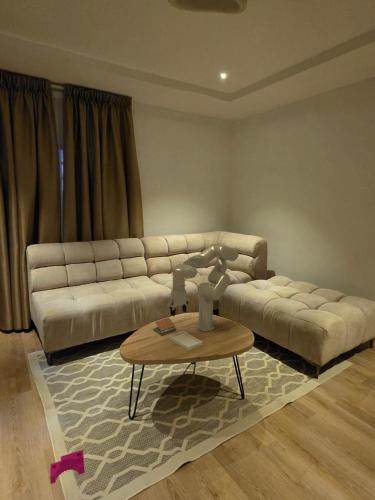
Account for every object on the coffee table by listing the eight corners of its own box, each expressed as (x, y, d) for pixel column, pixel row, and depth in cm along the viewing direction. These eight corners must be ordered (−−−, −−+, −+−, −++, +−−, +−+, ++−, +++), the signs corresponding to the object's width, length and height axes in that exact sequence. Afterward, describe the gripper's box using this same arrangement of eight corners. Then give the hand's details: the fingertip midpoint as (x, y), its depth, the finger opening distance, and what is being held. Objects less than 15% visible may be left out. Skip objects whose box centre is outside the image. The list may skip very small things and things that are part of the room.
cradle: (182, 334, 195) (182, 330, 195) (202, 345, 181) (202, 341, 180) (168, 338, 188) (168, 335, 188) (188, 350, 174) (188, 347, 173)
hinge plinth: (168, 326, 207) (168, 322, 206) (176, 331, 199) (176, 326, 199) (153, 331, 199) (153, 326, 199) (161, 336, 192) (161, 331, 191)
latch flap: (168, 318, 204) (169, 317, 204) (174, 327, 200) (175, 326, 199) (155, 322, 197) (155, 321, 197) (161, 331, 193) (161, 330, 192)
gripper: (185, 283, 192) (184, 308, 195) (163, 288, 180) (163, 315, 183) (193, 286, 186) (192, 312, 189) (171, 291, 175) (171, 319, 178)
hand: (178, 313), depth 186 cm, fingers open, 9 cm apart
